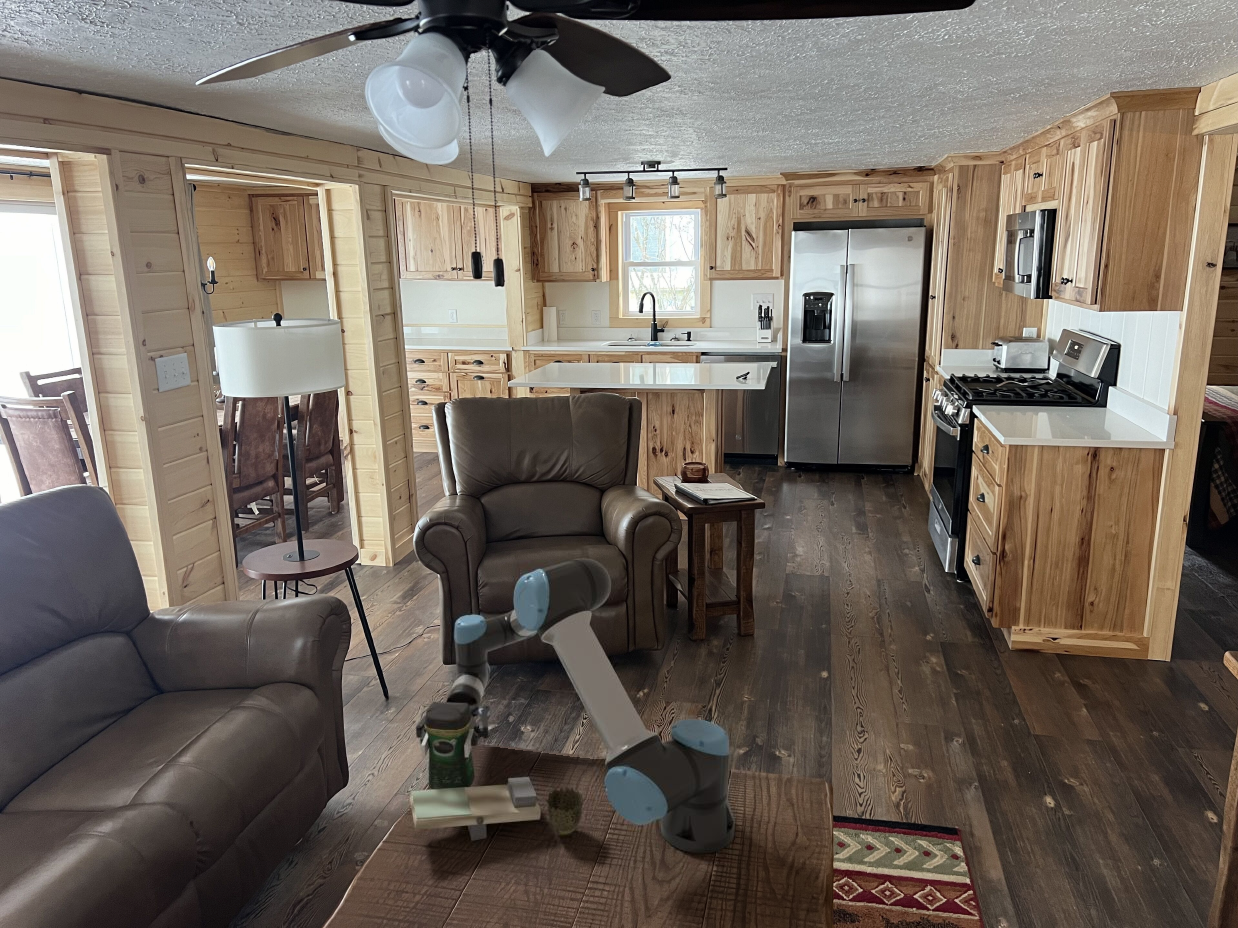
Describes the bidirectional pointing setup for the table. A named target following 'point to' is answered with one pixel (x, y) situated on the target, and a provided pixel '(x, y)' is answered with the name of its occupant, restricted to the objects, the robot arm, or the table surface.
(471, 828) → the beam stand
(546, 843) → the table surface
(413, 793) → the beam
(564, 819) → the cup
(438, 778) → the coffee jar
